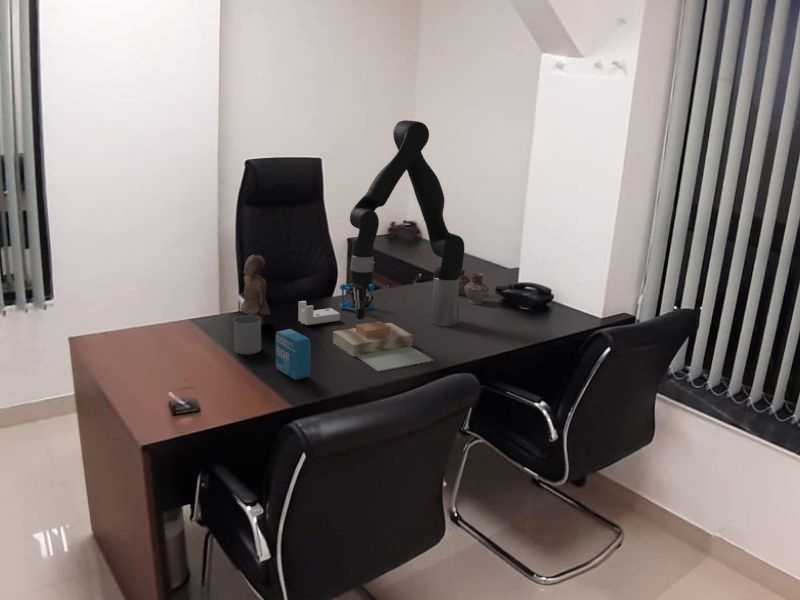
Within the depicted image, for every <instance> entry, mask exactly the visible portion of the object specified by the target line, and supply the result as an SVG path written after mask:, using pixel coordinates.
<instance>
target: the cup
mask: <svg viewBox="0 0 800 600" xmlns="http://www.w3.org/2000/svg"><path fill="white" fill-rule="evenodd" d="M232 321H233V347H234V348H233V351H234V353H236V354H239V353H240V355H253V354H257V353H259V352H261V351H262V325H261V319H260V318H259V317H257V316H251V315H249V314H246V315H239V316H236V317H234V318H233V320H232Z"/></svg>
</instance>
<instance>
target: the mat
mask: <svg viewBox="0 0 800 600" xmlns="http://www.w3.org/2000/svg"><path fill="white" fill-rule="evenodd" d="M356 358H357V359H359V360H360V361H362V362H363V363H364V364H365V365H367V366H370V367H371V368H372V369H373V370H375V371H376V372H378V373H380V371H381V372H384V371H390V370H395V369H400V368H406V367H410V366H411V365H412V366H416V365H415V364H417V365H421V364H420V363H422V364H427V363H432V362H434V361H435V360H434V359H433V358H431V357H429V356H427V355H426V354H424V353H422V352H421V351H420V350H417V349H416V348H414V347H413V346H412V347H411V346H409V347H404V348H398V349H392V350H387V351H381V352H375V353H370V354H364V355H358V356H356ZM431 361H432V362H431ZM426 362H427V363H426ZM405 366H406V367H405Z"/></svg>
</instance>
